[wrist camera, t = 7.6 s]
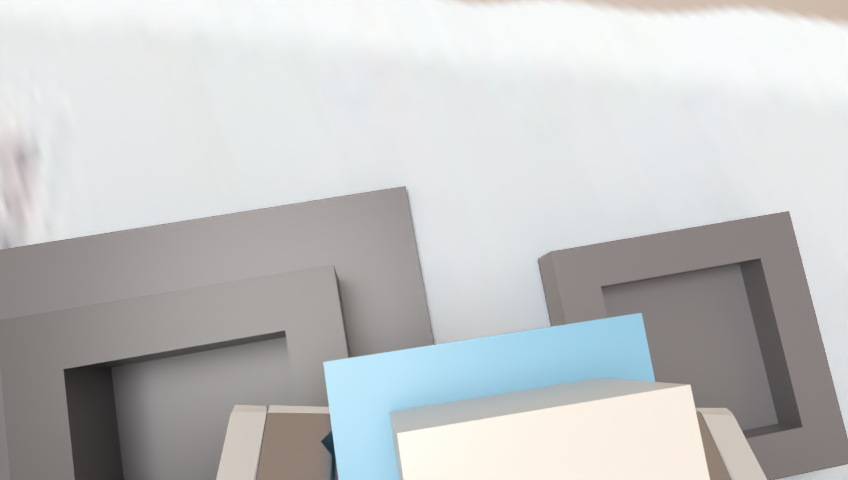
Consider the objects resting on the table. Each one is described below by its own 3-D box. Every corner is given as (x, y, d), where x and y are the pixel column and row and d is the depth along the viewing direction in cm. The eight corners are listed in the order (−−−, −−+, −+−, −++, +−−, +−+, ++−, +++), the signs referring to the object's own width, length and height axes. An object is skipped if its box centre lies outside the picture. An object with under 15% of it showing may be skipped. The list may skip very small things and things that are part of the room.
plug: (557, 520, 15) (854, 778, 6) (370, 554, 15) (368, 888, 6) (524, 333, 16) (748, 294, 6) (344, 361, 16) (303, 362, 6)
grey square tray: (818, 455, 27) (853, 462, 25) (587, 503, 26) (605, 515, 24) (759, 221, 28) (789, 211, 26) (537, 259, 27) (550, 251, 25)
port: (484, 632, 25) (512, 700, 20) (4, 740, 23) (-93, 842, 18) (405, 188, 27) (413, 151, 22) (-37, 258, 26) (-133, 234, 21)
